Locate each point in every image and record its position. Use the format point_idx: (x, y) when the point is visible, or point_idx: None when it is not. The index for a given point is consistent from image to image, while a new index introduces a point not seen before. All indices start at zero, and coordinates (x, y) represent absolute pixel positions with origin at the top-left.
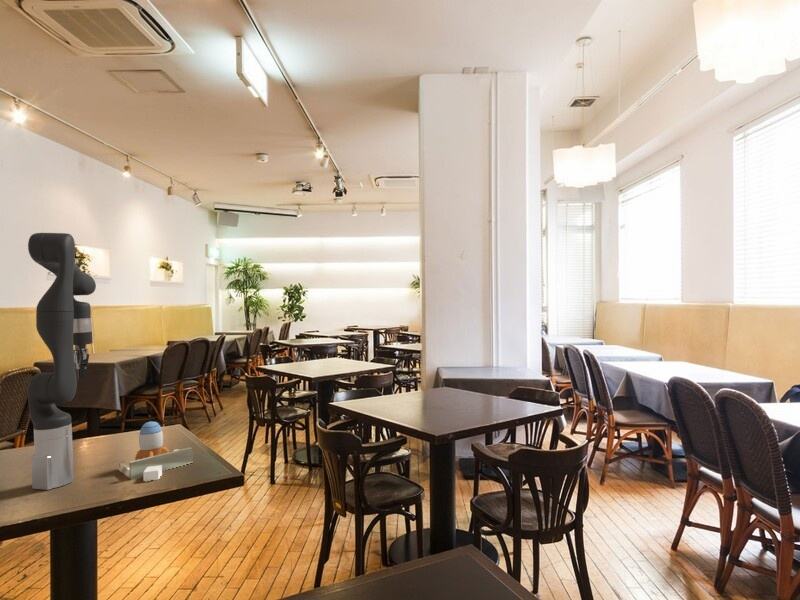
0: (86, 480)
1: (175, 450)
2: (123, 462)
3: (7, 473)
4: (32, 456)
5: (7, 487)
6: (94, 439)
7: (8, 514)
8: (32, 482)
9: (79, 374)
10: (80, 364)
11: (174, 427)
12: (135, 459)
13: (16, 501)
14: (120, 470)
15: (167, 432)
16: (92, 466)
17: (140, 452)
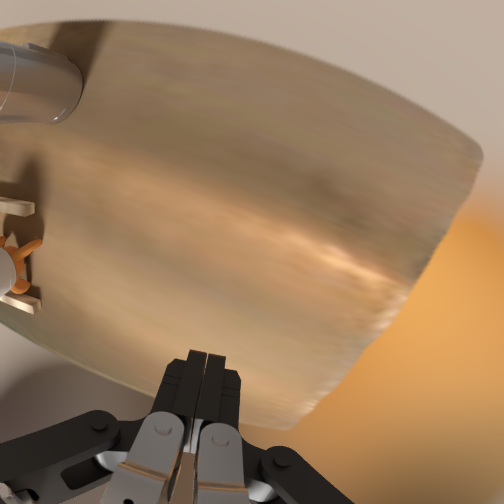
0: (29, 140)
1: (26, 305)
2: (20, 212)
3: (250, 40)
4: (24, 44)
5: (126, 21)
6: (376, 301)
7: (5, 30)
8: (59, 53)
9: (180, 381)
10: (54, 429)
11: (276, 424)
12: (34, 241)
13: (37, 34)
14: (26, 201)
15: (246, 403)
16: (102, 180)
17: (17, 250)
